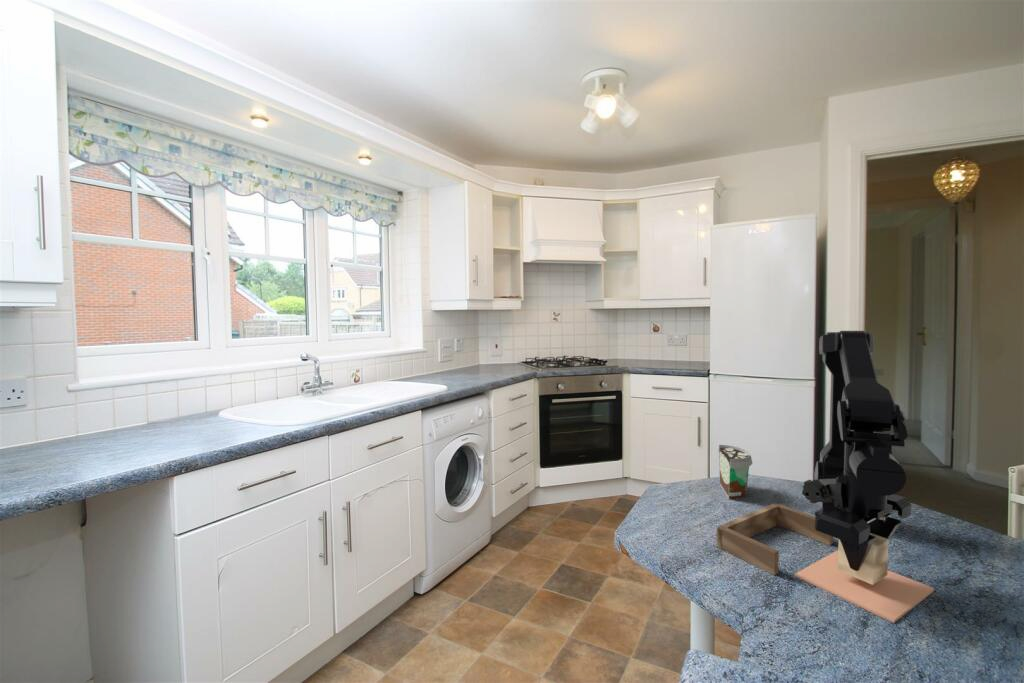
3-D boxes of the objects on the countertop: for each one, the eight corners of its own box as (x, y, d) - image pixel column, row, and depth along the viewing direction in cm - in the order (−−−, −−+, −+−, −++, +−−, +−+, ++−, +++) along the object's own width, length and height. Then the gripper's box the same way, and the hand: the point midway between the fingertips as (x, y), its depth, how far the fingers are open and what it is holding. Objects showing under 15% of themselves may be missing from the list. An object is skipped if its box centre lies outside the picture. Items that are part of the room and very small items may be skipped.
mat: (837, 552, 87) (837, 550, 87) (933, 590, 75) (934, 588, 75) (794, 576, 80) (794, 573, 80) (893, 622, 68) (893, 620, 68)
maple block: (852, 560, 81) (853, 527, 81) (887, 574, 77) (888, 539, 76) (837, 569, 79) (838, 535, 78) (872, 584, 74) (873, 548, 74)
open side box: (775, 521, 100) (775, 502, 100) (833, 543, 90) (833, 523, 90) (716, 547, 90) (716, 526, 90) (774, 575, 81) (774, 552, 80)
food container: (758, 503, 109) (759, 460, 108) (730, 501, 110) (730, 459, 109) (744, 483, 121) (744, 444, 120) (718, 481, 122) (718, 444, 121)
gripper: (840, 449, 88) (837, 529, 89) (782, 469, 79) (780, 559, 80) (914, 465, 78) (910, 556, 80) (858, 491, 69) (855, 593, 70)
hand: (862, 564), depth 78 cm, fingers closed on maple block, 5 cm apart
